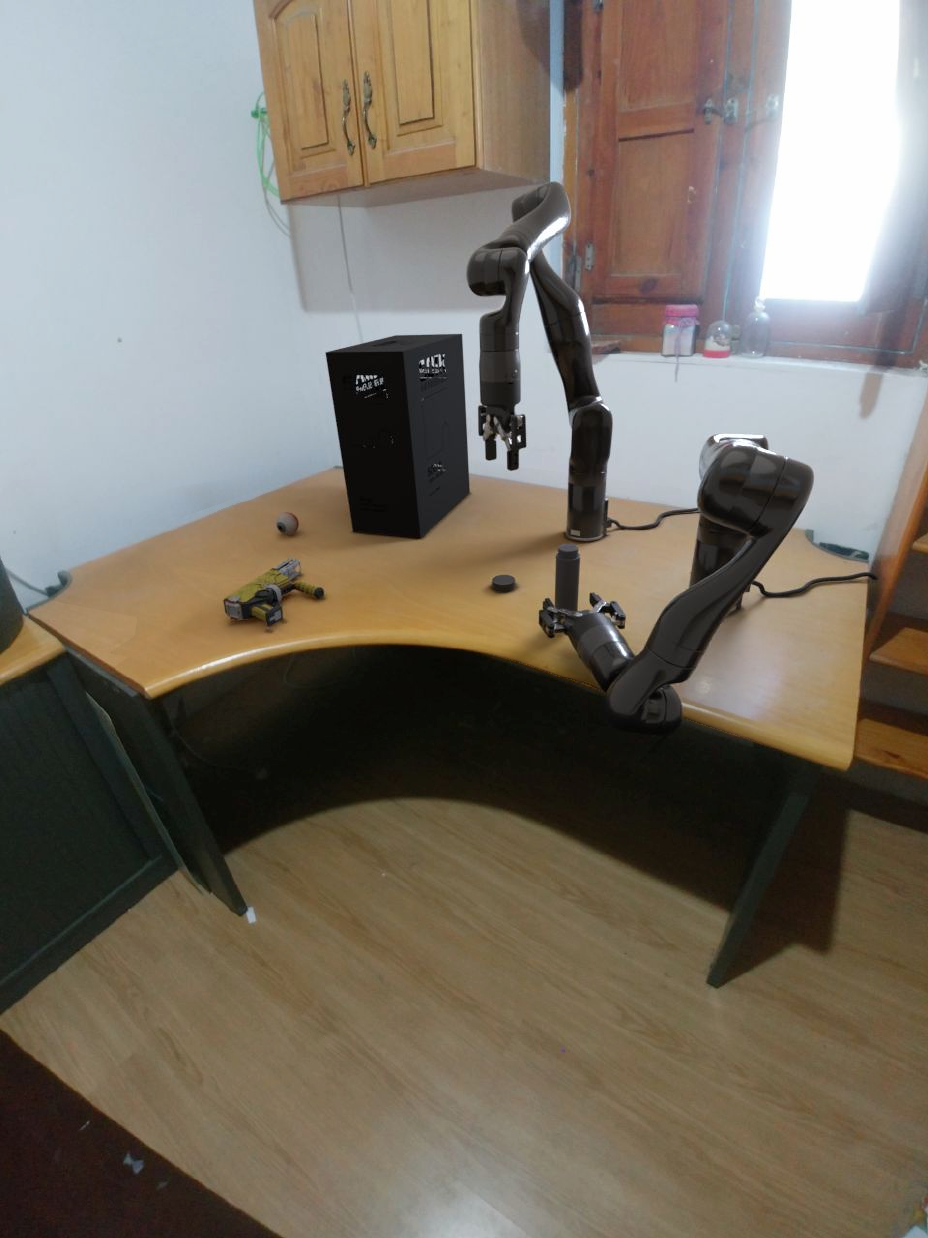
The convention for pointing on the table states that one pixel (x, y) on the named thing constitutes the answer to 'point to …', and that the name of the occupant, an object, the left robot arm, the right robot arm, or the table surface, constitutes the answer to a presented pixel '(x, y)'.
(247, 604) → the toy gun
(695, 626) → the right robot arm
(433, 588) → the table surface
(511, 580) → the lid
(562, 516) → the table surface
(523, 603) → the table surface
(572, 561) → the grey cylindrical tube
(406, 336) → the cardboard box
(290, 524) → the eyeball
